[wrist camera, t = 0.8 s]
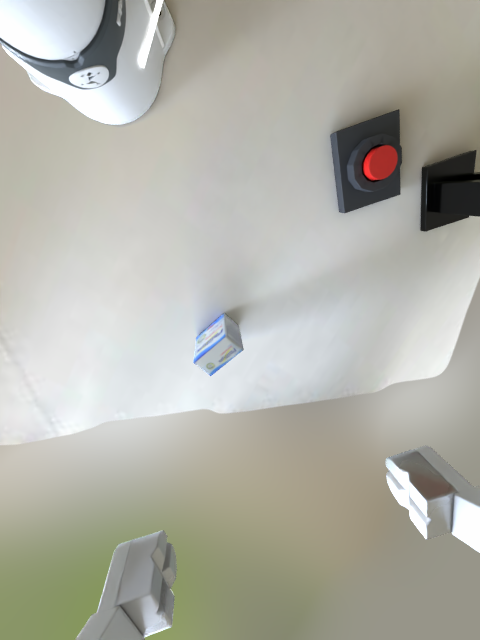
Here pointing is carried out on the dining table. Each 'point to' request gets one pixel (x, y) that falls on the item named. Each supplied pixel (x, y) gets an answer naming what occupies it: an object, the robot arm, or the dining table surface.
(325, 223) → the dining table surface
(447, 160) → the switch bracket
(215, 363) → the medicine box
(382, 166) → the button
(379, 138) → the control block
